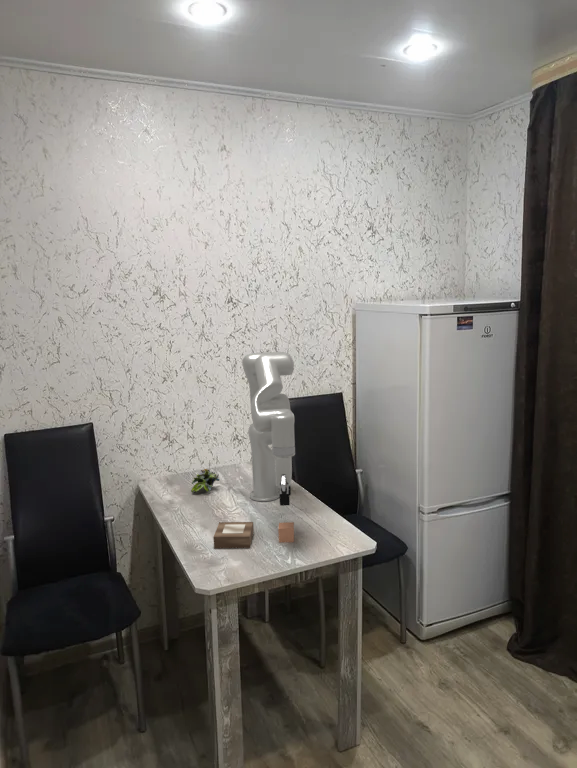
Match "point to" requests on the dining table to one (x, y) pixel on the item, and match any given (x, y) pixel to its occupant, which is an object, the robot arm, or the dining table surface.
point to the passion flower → (204, 480)
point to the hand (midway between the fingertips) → (285, 500)
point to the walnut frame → (233, 535)
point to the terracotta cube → (286, 532)
